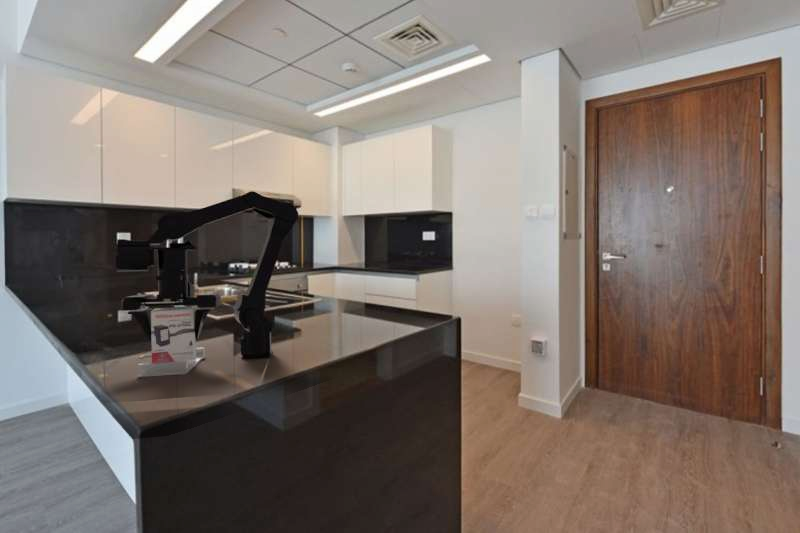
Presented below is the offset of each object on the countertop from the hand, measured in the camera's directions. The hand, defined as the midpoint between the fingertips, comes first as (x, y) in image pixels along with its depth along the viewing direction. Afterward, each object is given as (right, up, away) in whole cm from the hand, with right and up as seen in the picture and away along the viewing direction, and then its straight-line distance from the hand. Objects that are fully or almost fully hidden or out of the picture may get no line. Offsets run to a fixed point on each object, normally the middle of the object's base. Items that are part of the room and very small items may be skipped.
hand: (174, 339), depth 88 cm
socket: (0, -6, 0) cm, 6 cm away
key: (-11, -6, +9) cm, 15 cm away
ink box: (0, -5, 0) cm, 5 cm away
